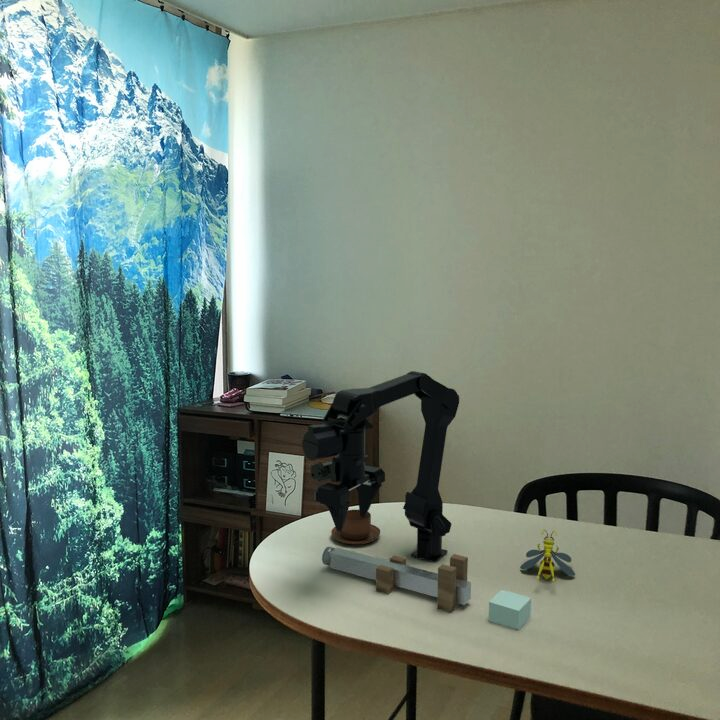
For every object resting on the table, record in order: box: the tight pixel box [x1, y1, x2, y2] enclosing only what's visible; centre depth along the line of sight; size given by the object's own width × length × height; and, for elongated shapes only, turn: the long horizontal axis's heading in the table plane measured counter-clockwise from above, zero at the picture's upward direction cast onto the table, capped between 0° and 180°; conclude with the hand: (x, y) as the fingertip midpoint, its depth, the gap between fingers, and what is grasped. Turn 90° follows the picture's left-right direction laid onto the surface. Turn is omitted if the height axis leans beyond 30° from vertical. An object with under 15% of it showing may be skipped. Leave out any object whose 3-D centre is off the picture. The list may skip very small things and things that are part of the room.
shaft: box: [321, 546, 472, 606], centre depth 148 cm, size 4×34×4 cm, turn 58°
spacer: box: [488, 589, 532, 631], centre depth 135 cm, size 6×6×4 cm
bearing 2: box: [436, 553, 469, 613], centre depth 141 cm, size 8×3×8 cm, turn 148°
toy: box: [519, 529, 576, 582], centre depth 152 cm, size 12×8×15 cm
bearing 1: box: [375, 554, 407, 596], centre depth 148 cm, size 8×3×5 cm, turn 148°
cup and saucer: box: [331, 509, 381, 545], centre depth 173 cm, size 12×12×6 cm
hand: (351, 523), depth 149 cm, fingers open, 9 cm apart
